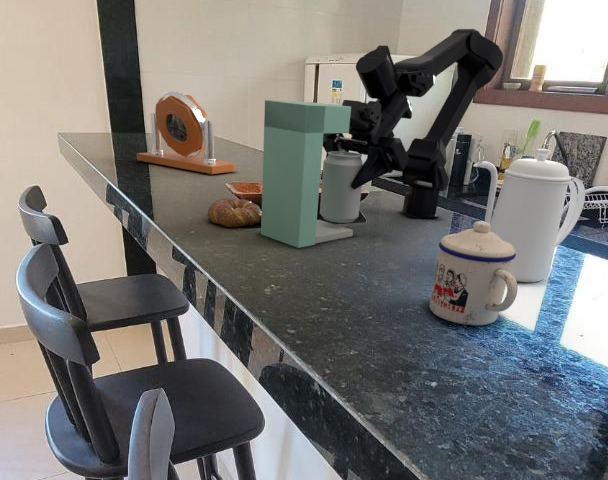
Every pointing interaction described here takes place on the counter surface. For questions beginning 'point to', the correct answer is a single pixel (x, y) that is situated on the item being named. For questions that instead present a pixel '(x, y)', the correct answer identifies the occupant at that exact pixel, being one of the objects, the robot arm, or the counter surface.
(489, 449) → the counter surface
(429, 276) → the counter surface
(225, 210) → the pretzel
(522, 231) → the coffeepot
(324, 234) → the coffee maker
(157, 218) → the counter surface
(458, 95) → the robot arm
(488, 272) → the teacup with lid
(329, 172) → the can
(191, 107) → the desk clock
